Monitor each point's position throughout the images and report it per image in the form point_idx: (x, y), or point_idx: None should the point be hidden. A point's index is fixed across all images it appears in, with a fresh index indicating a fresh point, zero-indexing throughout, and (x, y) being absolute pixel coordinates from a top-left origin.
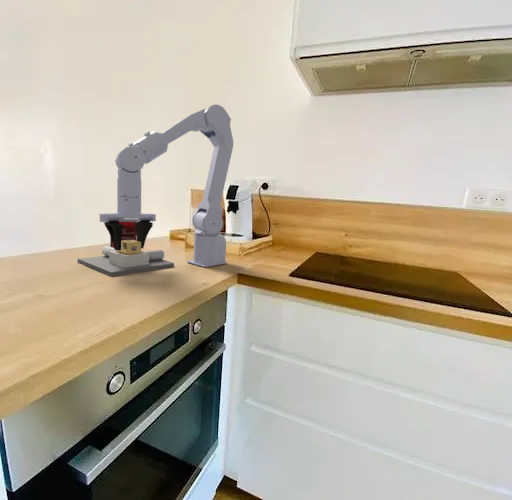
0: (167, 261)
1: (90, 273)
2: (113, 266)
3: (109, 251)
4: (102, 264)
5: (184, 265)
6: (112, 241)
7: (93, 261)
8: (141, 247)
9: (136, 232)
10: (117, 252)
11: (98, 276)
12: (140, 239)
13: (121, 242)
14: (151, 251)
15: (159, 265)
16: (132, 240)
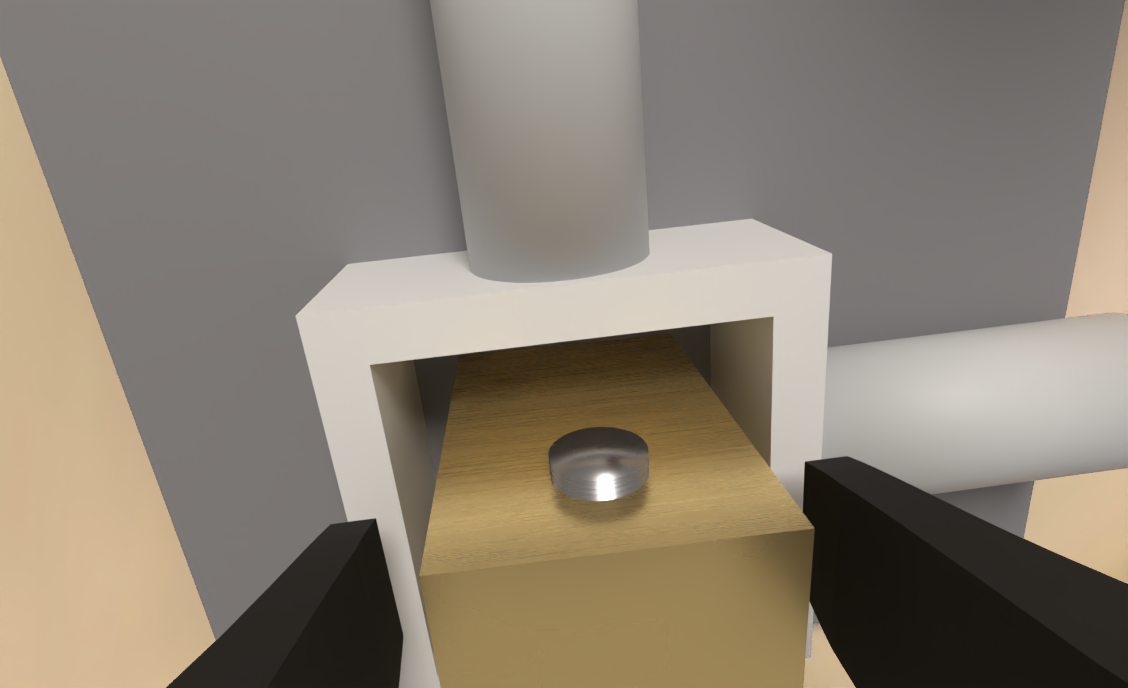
0: (1016, 503)
1: (75, 493)
2: (334, 500)
3: (300, 328)
4: (229, 347)
5: (1105, 560)
6: (233, 629)
7: (133, 90)
8: (809, 600)
9: (1072, 656)
10: (450, 348)
11: (141, 625)
12: (908, 680)
13: (441, 658)
14: (977, 472)
15: (816, 620)
16: (742, 610)
